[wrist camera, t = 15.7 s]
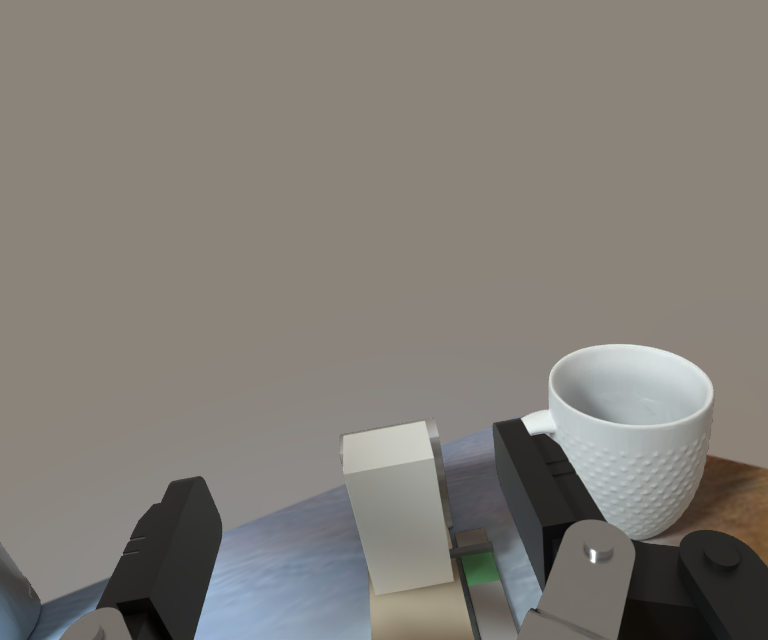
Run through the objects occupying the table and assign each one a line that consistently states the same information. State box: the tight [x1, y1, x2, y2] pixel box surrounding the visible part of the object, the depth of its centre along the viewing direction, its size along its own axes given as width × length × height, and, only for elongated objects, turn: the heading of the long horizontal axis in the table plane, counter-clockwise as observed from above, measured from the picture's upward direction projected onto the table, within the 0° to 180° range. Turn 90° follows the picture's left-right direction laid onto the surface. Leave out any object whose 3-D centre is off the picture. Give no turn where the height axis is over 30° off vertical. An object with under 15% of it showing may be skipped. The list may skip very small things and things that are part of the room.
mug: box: [521, 344, 714, 540], centre depth 39 cm, size 15×11×13 cm
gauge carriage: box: [343, 421, 493, 596], centre depth 36 cm, size 4×10×12 cm, turn 94°
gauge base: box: [339, 418, 518, 640], centre depth 37 cm, size 14×10×10 cm
